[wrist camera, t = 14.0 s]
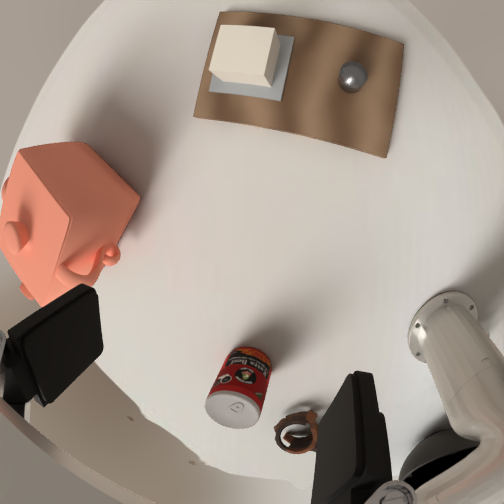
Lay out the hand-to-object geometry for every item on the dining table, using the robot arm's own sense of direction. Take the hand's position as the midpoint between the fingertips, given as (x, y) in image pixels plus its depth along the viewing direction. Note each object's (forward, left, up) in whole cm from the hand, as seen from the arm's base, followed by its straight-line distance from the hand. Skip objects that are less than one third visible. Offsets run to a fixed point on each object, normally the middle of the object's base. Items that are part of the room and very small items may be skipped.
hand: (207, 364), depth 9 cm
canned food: (0, +25, -28) cm, 38 cm away
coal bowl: (-46, +38, -28) cm, 66 cm away
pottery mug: (-14, +37, -29) cm, 49 cm away
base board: (+2, -18, -28) cm, 34 cm away
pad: (+8, -18, -27) cm, 33 cm away
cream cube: (+8, -18, -26) cm, 33 cm away
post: (-4, -18, -27) cm, 33 cm away
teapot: (+32, +9, -29) cm, 44 cm away
